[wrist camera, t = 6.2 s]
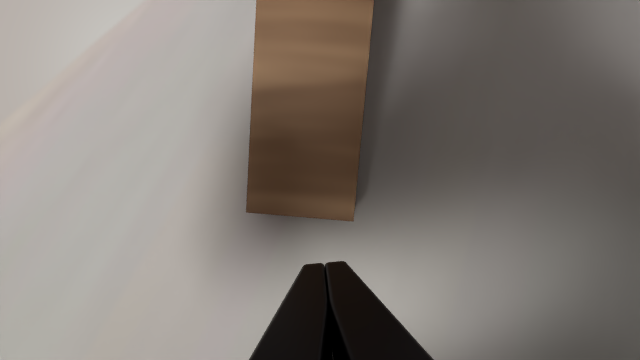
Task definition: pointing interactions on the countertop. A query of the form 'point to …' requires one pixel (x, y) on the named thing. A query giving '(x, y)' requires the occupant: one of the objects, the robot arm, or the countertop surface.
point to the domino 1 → (308, 106)
